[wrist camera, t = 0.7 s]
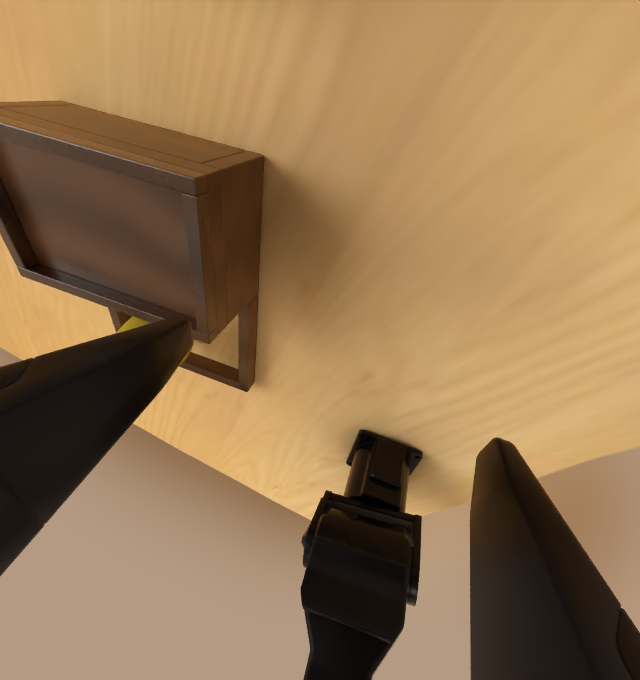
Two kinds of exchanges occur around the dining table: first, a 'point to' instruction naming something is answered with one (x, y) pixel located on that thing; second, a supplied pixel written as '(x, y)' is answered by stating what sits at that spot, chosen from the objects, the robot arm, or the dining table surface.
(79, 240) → the step shelf
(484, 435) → the dining table surface
